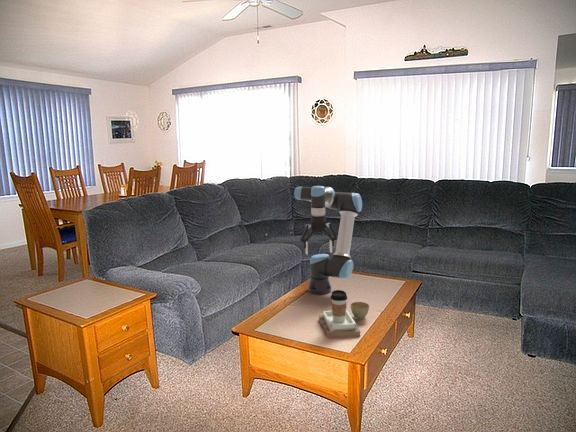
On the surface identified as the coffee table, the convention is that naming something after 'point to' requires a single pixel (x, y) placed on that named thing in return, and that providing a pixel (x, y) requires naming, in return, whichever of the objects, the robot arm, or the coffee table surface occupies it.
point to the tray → (346, 325)
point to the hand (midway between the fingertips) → (318, 253)
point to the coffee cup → (338, 305)
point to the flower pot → (359, 309)
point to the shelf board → (338, 333)
